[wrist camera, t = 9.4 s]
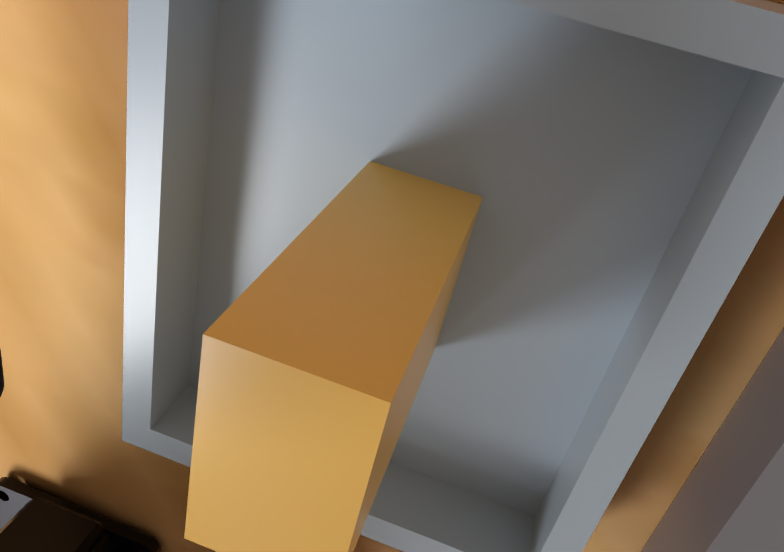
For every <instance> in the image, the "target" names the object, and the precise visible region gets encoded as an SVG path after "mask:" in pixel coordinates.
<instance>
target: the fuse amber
mask: <svg viewBox="0 0 784 552" xmlns="http://www.w3.org/2000/svg"><path fill="white" fill-rule="evenodd" d="M482 198H483V197H481V196H478V195H475V194H472V193H468V192H465V191H462V190H459V189H456V188H453V187H450V186H447V185H443V184H440V183H437V182H434V181H431V180H428V179H425V178H421V177H418V176H415V175H412V174H409V173H406V172H403V171H400V170H396V169H393V168H390V167H387V166H384V165H381V164H378V163H375V162H371V161H370V162H369V163H368V164H367V165H366V166H365V167H364V168H363V169H362V170H361V171H360V172H359V173H358V174H357V175H356V176H355V177H354V178H353V179H352V180H351V181H350V182H349V183H348V184H347V186H346V187H345V188H344V189H343V190H342V191H341V192H340V193H339V194H338V195H337V196H336V197H335V198H334V199H333V200H332V201H331V202H330V203H329V204H328V205H327V206H326V207H325V208H324V209H323V210H322V211H321V212H320V213H319V215H318V216H317V217H316V218H315V219H314V220H313V221H312V222H311V223H310V224H309V225H308V226H307V227H306V228H305V229H304V230H303V231H302V232H301V233H300V234H299V235H298V236H297V237H296V238H295V239H294V240H293V241H292V242H291V243H290V245H289V246H288V247H287V248H286V249H285V250H284V251H283V252H282V253H281V254H280V255H279V256H278V257H277V258H276V259H275V260H274V261H273V262H272V263H271V264H270V265H269V266H268V267H267V268H266V269H265V270H264V271H263V272H262V274H261V275H260V276H259V277H258V278H257V279H256V280H255V281H254V282H253V283H252V284H251V285H250V286H249V287H248V288H247V289H246V290H245V291H244V292H243V293H242V294H241V295H240V296H239V297H238V298H237V299H236V300H235V301H234V302H233V304H232V305H231V306H230V307H229V308H228V309H227V310H226V311H225V312H224V313H223V314H222V315H221V316H220V317H219V318H218V319H217V320H216V321H215V322H214V323H213V324H212V325H211V326H210V327H209V328H208V329H207V330H206V331H205V332H204V334H203V339H202V350H201V360H200V371H199V382H198V393H197V404H196V415H195V426H194V436H193V447H192V458H191V469H190V480H189V491H188V502H187V512H186V523H185V534H184V538H185V539H187V540H190V541H192V542H195V543H197V544H199V545H202V546H204V547H207V548H209V549H212V550H214V551H216V552H353V551H354V549H355V546H356V544H357V541H358V539H359V536H360V534H361V531H362V529H363V526H364V524H365V521H366V519H367V516H368V514H369V511H370V509H371V506H372V504H373V501H374V499H375V496H376V494H377V491H378V489H379V486H380V484H381V482H382V479H383V477H384V474H385V472H386V469H387V467H388V464H389V462H390V459H391V457H392V454H393V452H394V449H395V447H396V444H397V442H398V439H399V437H400V434H401V432H402V429H403V427H404V424H405V422H406V419H407V417H408V414H409V412H410V409H411V407H412V404H413V402H414V399H415V397H416V394H417V392H418V389H419V387H420V384H421V382H422V379H423V377H424V374H425V372H426V369H427V367H428V364H429V362H430V359H431V357H432V354H433V352H434V349H435V347H436V343H437V340H438V337H439V334H440V331H441V328H442V325H443V321H444V318H445V315H446V312H447V309H448V306H449V302H450V299H451V296H452V293H453V290H454V287H455V283H456V280H457V277H458V274H459V271H460V268H461V264H462V261H463V258H464V255H465V252H466V249H467V246H468V242H469V239H470V236H471V233H472V230H473V227H474V223H475V220H476V217H477V214H478V211H479V208H480V204H481V201H482Z"/></svg>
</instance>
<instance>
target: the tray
mask: <svg viewBox="0 0 784 552" xmlns="http://www.w3.org/2000/svg"><path fill="white" fill-rule="evenodd" d="M370 161H371V162H375V163H378V164H381V165H384V166H387V167H390V168H393V169H396V170H400V171H403V172H406V173H409V174H412V175H415V176H418V177H421V178H425V179H428V180H431V181H434V182H437V183H440V184H443V185H447V186H450V187H453V188H456V189H459V190H462V191H465V192H468V193H472V194H475V195H478V196H481V197H483V198H482V201H481V204H480V208H479V211H478V214H477V217H476V220H475V223H474V227H473V230H472V233H471V236H470V239H469V242H468V246H467V249H466V252H465V255H464V258H463V261H462V264H461V268H460V271H459V274H458V277H457V280H456V283H455V287H454V290H453V293H452V296H451V299H450V302H449V306H448V309H447V312H446V315H445V318H444V321H443V325H442V328H441V331H440V334H439V337H438V340H437V343H436V347H435V349H434V352H433V354H432V357H431V359H430V362H429V364H428V367H427V369H426V372H425V374H424V377H423V379H422V382H421V384H420V387H419V389H418V392H417V394H416V397H415V399H414V402H413V404H412V407H411V409H410V412H409V414H408V417H407V419H406V422H405V424H404V427H403V429H402V432H401V434H400V437H399V439H398V442H397V444H396V447H395V449H394V452H393V454H392V457H391V459H390V462H389V464H388V467H387V469H386V472H385V474H384V477H383V479H382V482H381V484H380V486H379V489H378V491H377V494H376V496H375V499H374V501H373V504H372V506H371V509H370V511H369V514H368V516H367V519H366V521H365V524H364V526H363V529H362V531H361V534H360V535H363V536H365V537H368V538H370V539H373V540H375V541H378V542H380V543H383V544H385V545H388V546H390V547H393V548H396V549H398V550H401V551H403V552H582V551H583V549H584V547H585V546H586V544H587V542H588V540H589V538H590V537H591V535H592V533H593V531H594V530H595V528H596V526H597V524H598V523H599V521H600V519H601V517H602V516H603V514H604V512H605V510H606V508H607V507H608V505H609V503H610V501H611V500H612V498H613V496H614V494H615V493H616V491H617V489H618V487H619V486H620V484H621V482H622V480H623V478H624V477H625V475H626V473H627V471H628V470H629V468H630V466H631V464H632V463H633V461H634V459H635V457H636V455H637V454H638V452H639V450H640V448H641V447H642V445H643V443H644V441H645V440H646V438H647V436H648V434H649V433H650V431H651V429H652V427H653V425H654V424H655V422H656V420H657V418H658V417H659V415H660V413H661V411H662V410H663V408H664V406H665V404H666V403H667V401H668V399H669V397H670V395H671V394H672V392H673V390H674V388H675V387H676V385H677V383H678V381H679V380H680V378H681V376H682V374H683V373H684V371H685V369H686V367H687V365H688V364H689V362H690V360H691V358H692V357H693V355H694V353H695V351H696V350H697V348H698V346H699V344H700V343H701V341H702V339H703V337H704V335H705V334H706V332H707V330H708V328H709V327H710V325H711V323H712V321H713V320H714V318H715V316H716V314H717V313H718V311H719V309H720V307H721V305H722V304H723V302H724V300H725V298H726V297H727V295H728V293H729V291H730V290H731V288H732V286H733V284H734V283H735V281H736V279H737V277H738V275H739V274H740V272H741V270H742V268H743V267H744V265H745V263H746V261H747V260H748V258H749V256H750V254H751V253H752V251H753V249H754V247H755V245H756V244H757V242H758V240H759V238H760V237H761V235H762V233H763V231H764V230H765V228H766V226H767V224H768V223H769V221H770V219H771V217H772V215H773V214H774V212H775V210H776V208H777V207H778V205H779V203H780V201H781V200H782V198H783V196H784V5H783V4H779V3H775V2H771V1H768V0H129V9H128V75H127V140H126V206H125V271H124V337H123V403H122V441H124V442H127V443H130V444H132V445H135V446H137V447H140V448H142V449H145V450H147V451H150V452H152V453H155V454H157V455H160V456H162V457H165V458H168V459H170V460H173V461H175V462H178V463H180V464H183V465H185V466H188V467H190V468H191V458H192V447H193V436H194V426H195V415H196V404H197V393H198V382H199V371H200V360H201V350H202V339H203V334H204V332H205V331H206V330H207V329H208V328H209V327H210V326H211V325H212V324H213V323H214V322H215V321H216V320H217V319H218V318H219V317H220V316H221V315H222V314H223V313H224V312H225V311H226V310H227V309H228V308H229V307H230V306H231V305H232V304H233V302H234V301H235V300H236V299H237V298H238V297H239V296H240V295H241V294H242V293H243V292H244V291H245V290H246V289H247V288H248V287H249V286H250V285H251V284H252V283H253V282H254V281H255V280H256V279H257V278H258V277H259V276H260V275H261V274H262V272H263V271H264V270H265V269H266V268H267V267H268V266H269V265H270V264H271V263H272V262H273V261H274V260H275V259H276V258H277V257H278V256H279V255H280V254H281V253H282V252H283V251H284V250H285V249H286V248H287V247H288V246H289V245H290V243H291V242H292V241H293V240H294V239H295V238H296V237H297V236H298V235H299V234H300V233H301V232H302V231H303V230H304V229H305V228H306V227H307V226H308V225H309V224H310V223H311V222H312V221H313V220H314V219H315V218H316V217H317V216H318V215H319V213H320V212H321V211H322V210H323V209H324V208H325V207H326V206H327V205H328V204H329V203H330V202H331V201H332V200H333V199H334V198H335V197H336V196H337V195H338V194H339V193H340V192H341V191H342V190H343V189H344V188H345V187H346V186H347V184H348V183H349V182H350V181H351V180H352V179H353V178H354V177H355V176H356V175H357V174H358V173H359V172H360V171H361V170H362V169H363V168H364V167H365V166H366V165H367V164H368V163H369V162H370Z"/></svg>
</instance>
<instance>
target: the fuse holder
mask: <svg viewBox="0 0 784 552" xmlns="http://www.w3.org/2000/svg"><path fill="white" fill-rule="evenodd" d="M641 552H784V328H783V330H782V331H781V333H780V334H779V336H778V337H777V339H776V341H775V342H774V344H773V345H772V347H771V348H770V350H769V352H768V353H767V355H766V356H765V358H764V359H763V361H762V363H761V364H760V366H759V367H758V369H757V370H756V372H755V374H754V375H753V377H752V378H751V380H750V381H749V383H748V385H747V386H746V388H745V389H744V391H743V392H742V394H741V396H740V397H739V399H738V400H737V402H736V403H735V405H734V407H733V408H732V410H731V411H730V413H729V414H728V416H727V418H726V419H725V421H724V422H723V424H722V425H721V427H720V429H719V430H718V432H717V433H716V435H715V436H714V438H713V439H712V441H711V443H710V444H709V446H708V447H707V449H706V450H705V452H704V454H703V455H702V457H701V458H700V460H699V461H698V463H697V465H696V466H695V468H694V469H693V471H692V472H691V474H690V476H689V477H688V479H687V480H686V482H685V483H684V485H683V487H682V488H681V490H680V491H679V493H678V494H677V496H676V498H675V499H674V501H673V502H672V504H671V505H670V507H669V509H668V510H667V512H666V513H665V515H664V516H663V518H662V520H661V521H660V523H659V524H658V526H657V527H656V529H655V531H654V532H653V534H652V535H651V537H650V538H649V540H648V542H647V543H646V545H645V546H644V548H643V549H642V551H641Z"/></svg>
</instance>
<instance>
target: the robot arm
mask: <svg viewBox="0 0 784 552" xmlns="http://www.w3.org/2000/svg"><path fill="white" fill-rule="evenodd" d="M3 389H4V376H3V367H2V357H1V350H0V397H1V395H2V392H3ZM0 552H161V547H160V545H159V543H158V542H157V541H156V540H155V539H154V538H153V537H151V536H149V535H147V534H144V533H142V532H139V531H137V530H135V529H132V528H130V527H127V526H125V525H122V524H120V523H118V522H115V521H113V520H110V519H108V518H105V517H103V516H101V515H98V514H96V513H93V512H91V511H89V510H86V509H84V508H81V507H79V506H76V505H74V504H72V503H69V502H67V501H64V500H62V499H59V498H57V497H55V496H52V495H50V494H47V493H45V492H42V491H40V490H38V489H35V488H33V487H30V486H28V485H26V484H23V483H21V482H18V481H16V480H13V479H11V478H7V477H2V478H1V479H0Z"/></svg>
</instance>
